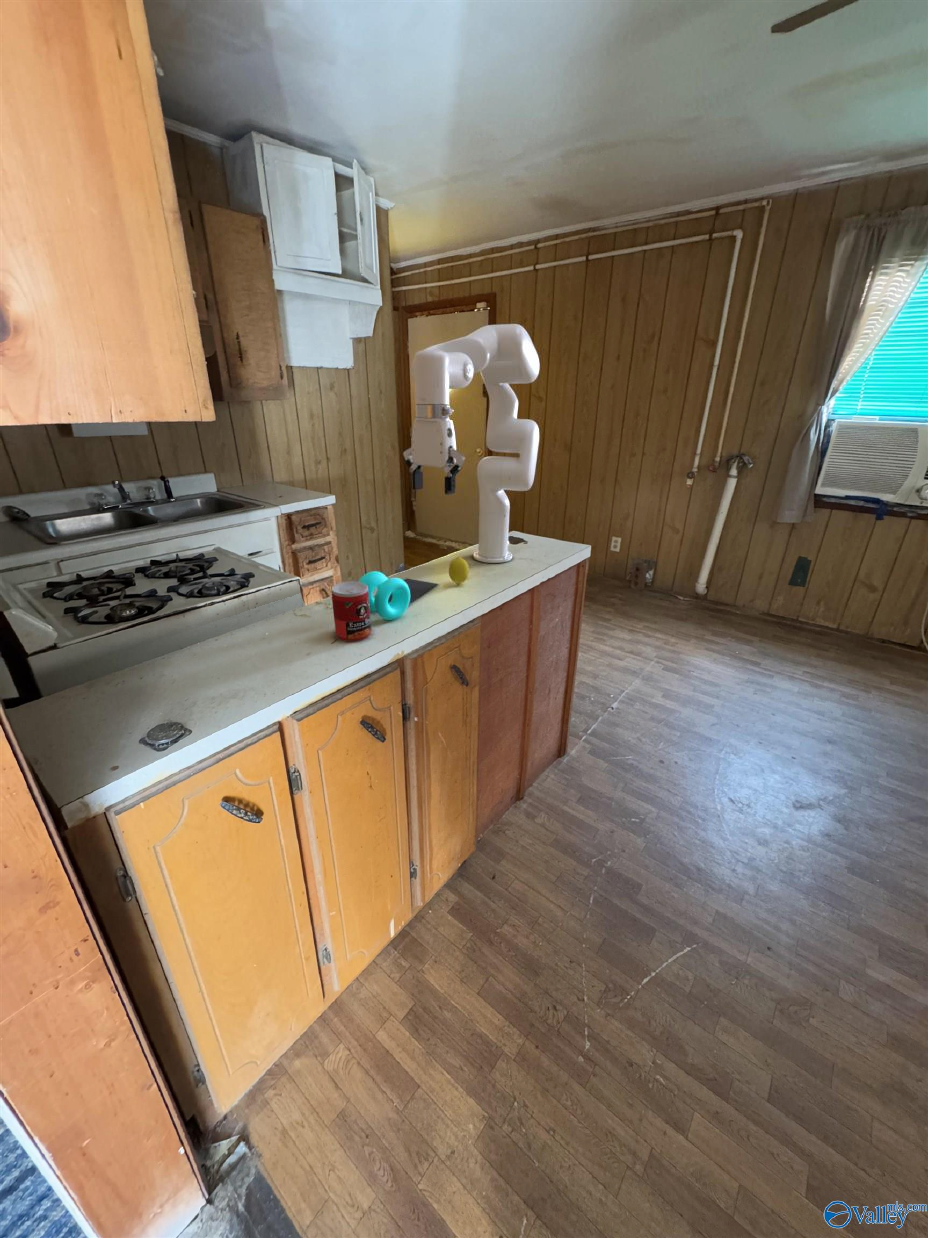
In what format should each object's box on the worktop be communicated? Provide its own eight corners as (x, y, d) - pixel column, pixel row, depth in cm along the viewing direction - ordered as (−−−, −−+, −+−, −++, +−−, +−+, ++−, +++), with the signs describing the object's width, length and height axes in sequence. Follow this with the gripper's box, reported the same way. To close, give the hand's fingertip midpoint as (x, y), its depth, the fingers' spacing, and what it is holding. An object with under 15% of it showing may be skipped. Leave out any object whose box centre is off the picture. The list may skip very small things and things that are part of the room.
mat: (406, 579, 143) (406, 578, 143) (437, 585, 139) (437, 583, 139) (370, 600, 128) (370, 599, 128) (404, 607, 124) (404, 606, 124)
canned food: (350, 645, 105) (345, 596, 101) (328, 634, 110) (323, 587, 106) (379, 634, 110) (375, 587, 106) (357, 623, 115) (353, 578, 111)
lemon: (469, 581, 142) (469, 554, 139) (467, 588, 137) (468, 560, 134) (450, 580, 143) (450, 553, 139) (447, 587, 138) (447, 559, 134)
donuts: (385, 603, 127) (383, 565, 123) (413, 614, 121) (412, 574, 117) (354, 615, 120) (350, 575, 116) (381, 627, 114) (379, 585, 110)
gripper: (473, 413, 110) (472, 493, 117) (413, 411, 119) (416, 485, 126) (453, 414, 104) (453, 497, 111) (392, 412, 113) (395, 489, 120)
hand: (433, 491), depth 119 cm, fingers open, 9 cm apart
